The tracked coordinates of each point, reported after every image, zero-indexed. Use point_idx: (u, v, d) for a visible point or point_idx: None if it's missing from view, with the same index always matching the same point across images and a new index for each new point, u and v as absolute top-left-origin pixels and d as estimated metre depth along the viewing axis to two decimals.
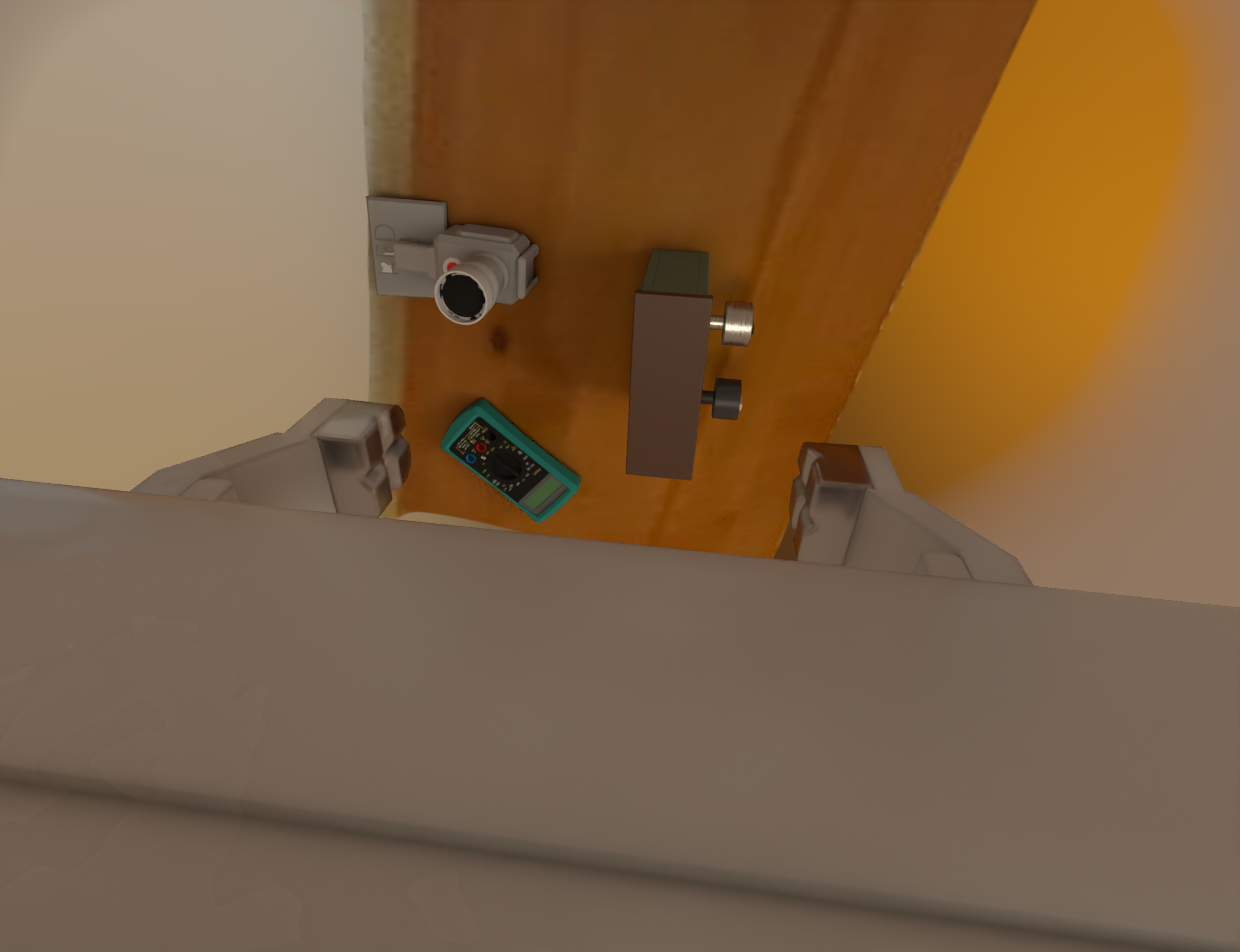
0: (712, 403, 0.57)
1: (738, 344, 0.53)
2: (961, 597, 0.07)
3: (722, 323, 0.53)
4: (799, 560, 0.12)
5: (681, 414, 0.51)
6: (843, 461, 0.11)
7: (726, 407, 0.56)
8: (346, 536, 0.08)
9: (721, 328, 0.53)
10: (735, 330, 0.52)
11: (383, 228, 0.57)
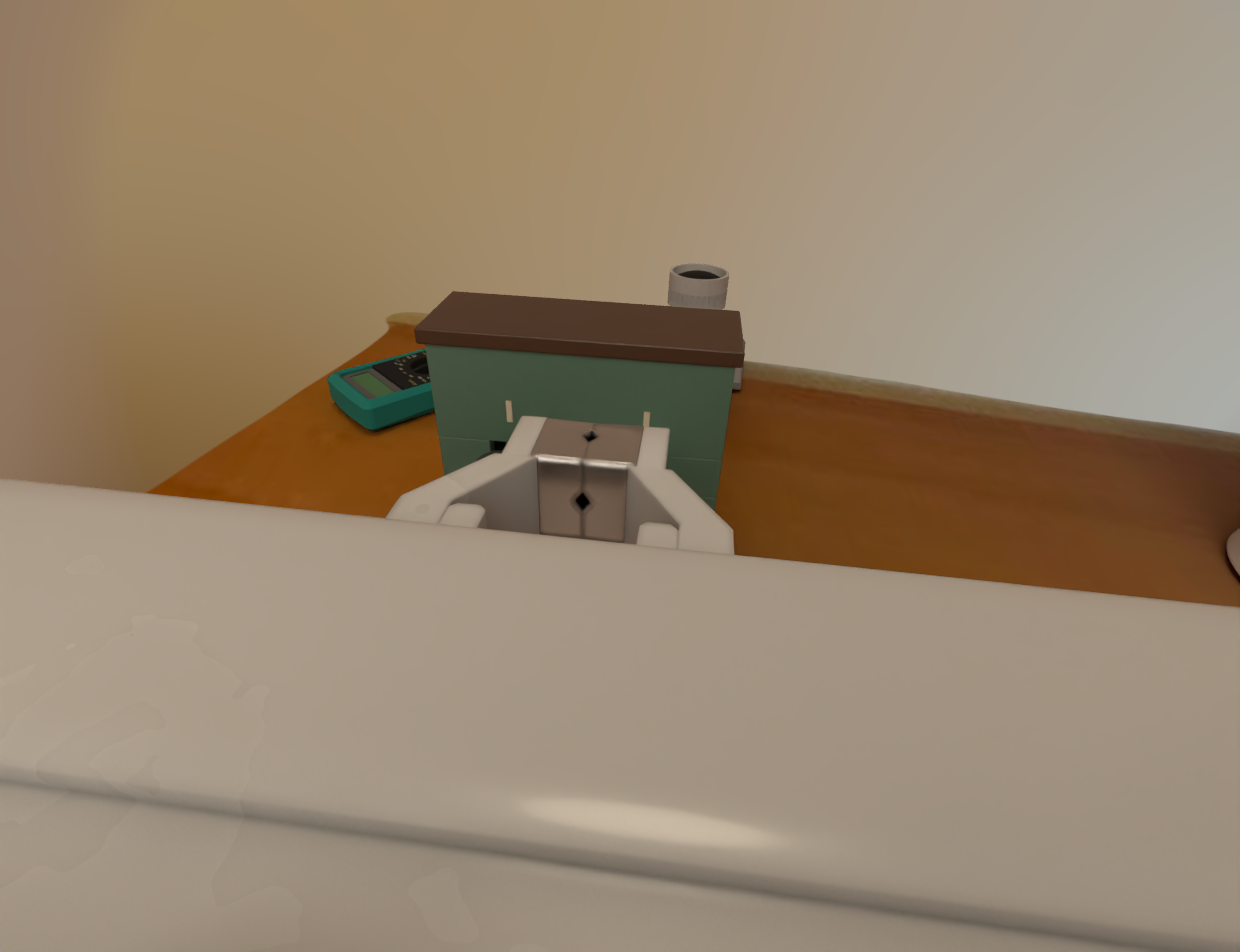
0: None
1: None
2: (961, 597, 0.07)
3: None
4: (585, 538, 0.12)
5: (547, 326, 0.31)
6: (620, 441, 0.12)
7: None
8: (346, 537, 0.08)
9: None
10: None
11: None
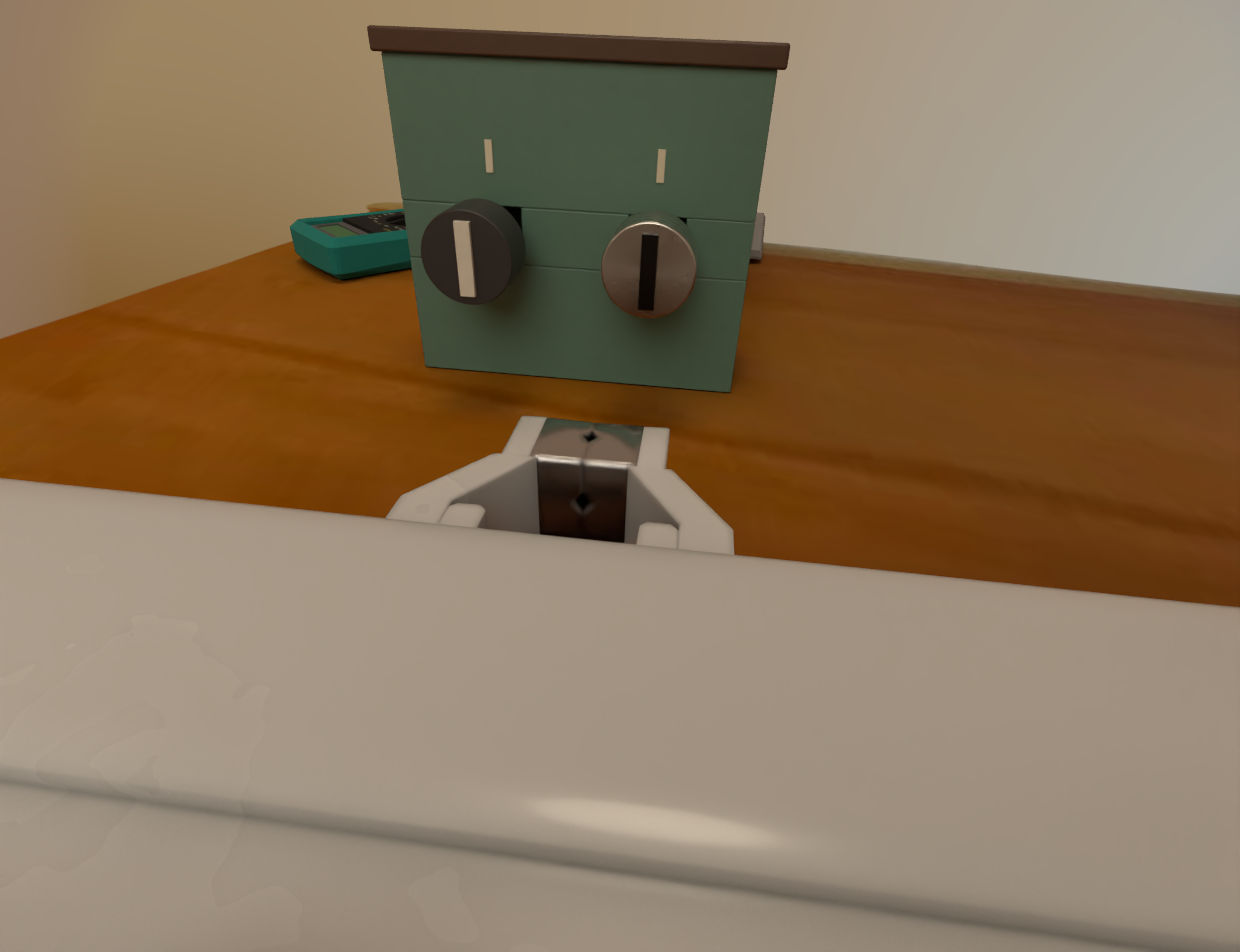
0: None
1: (617, 231, 0.24)
2: (961, 597, 0.07)
3: None
4: (585, 538, 0.12)
5: None
6: (620, 441, 0.12)
7: (473, 203, 0.24)
8: (346, 536, 0.08)
9: None
10: (655, 214, 0.24)
11: None
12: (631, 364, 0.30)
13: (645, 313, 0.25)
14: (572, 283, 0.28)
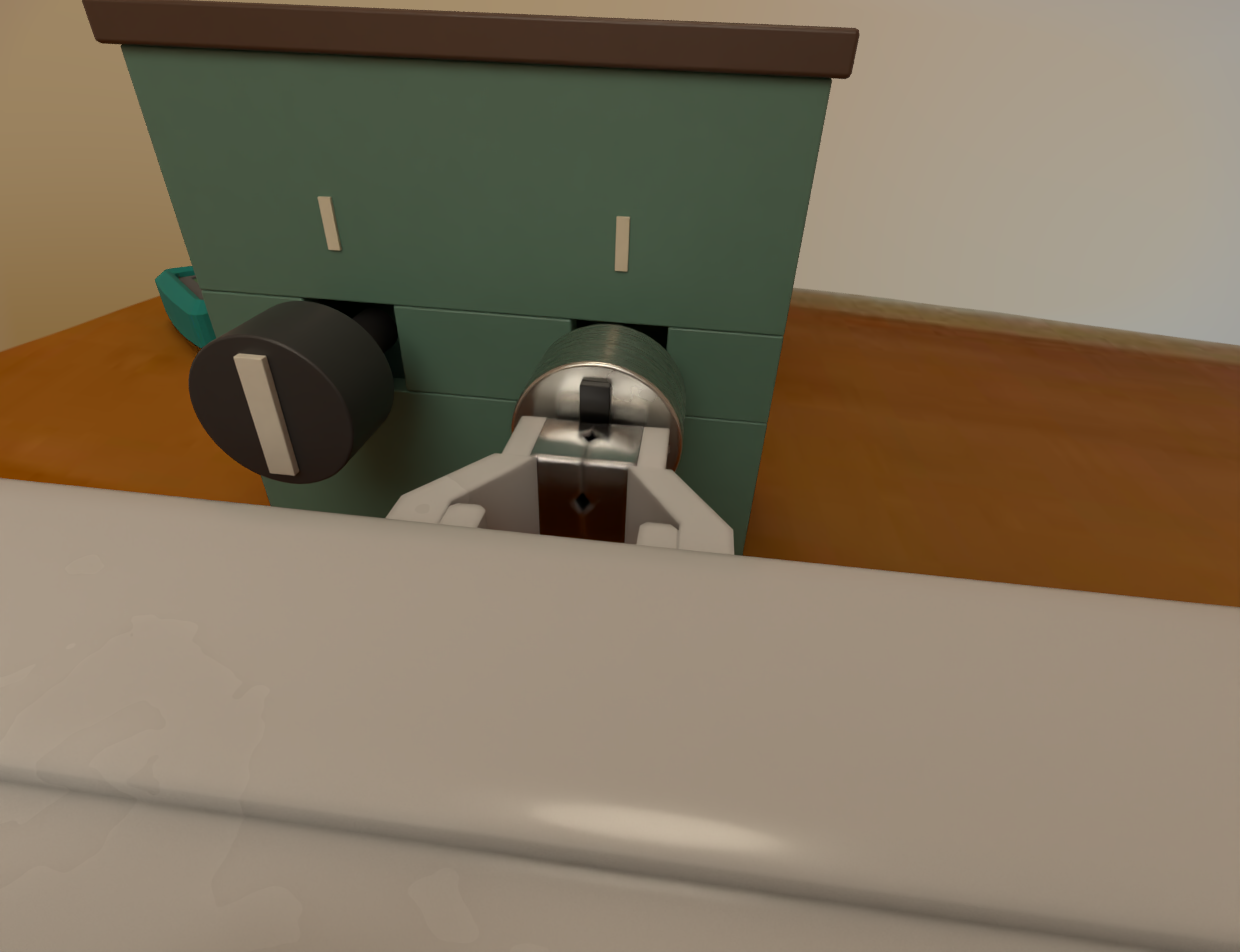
0: None
1: (539, 367, 0.13)
2: (961, 597, 0.07)
3: None
4: (585, 538, 0.12)
5: None
6: (620, 441, 0.12)
7: (283, 316, 0.14)
8: (346, 536, 0.08)
9: None
10: (609, 338, 0.13)
11: None
12: None
13: None
14: (485, 419, 0.18)
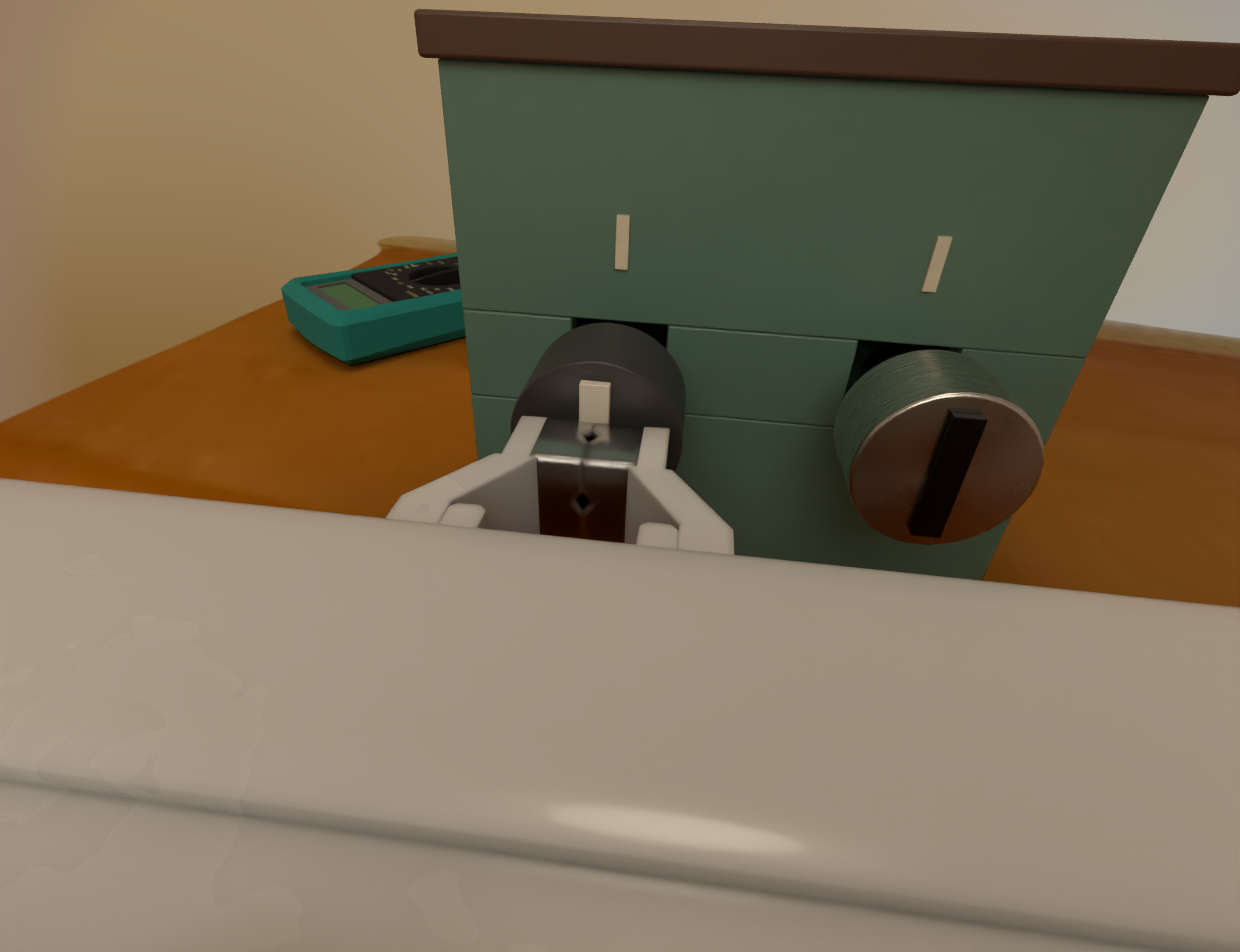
0: None
1: (882, 396, 0.13)
2: (961, 597, 0.07)
3: None
4: (585, 538, 0.12)
5: None
6: (620, 441, 0.12)
7: (609, 340, 0.13)
8: (346, 537, 0.08)
9: None
10: (957, 366, 0.13)
11: None
12: (818, 555, 0.19)
13: (919, 537, 0.14)
14: (739, 441, 0.17)
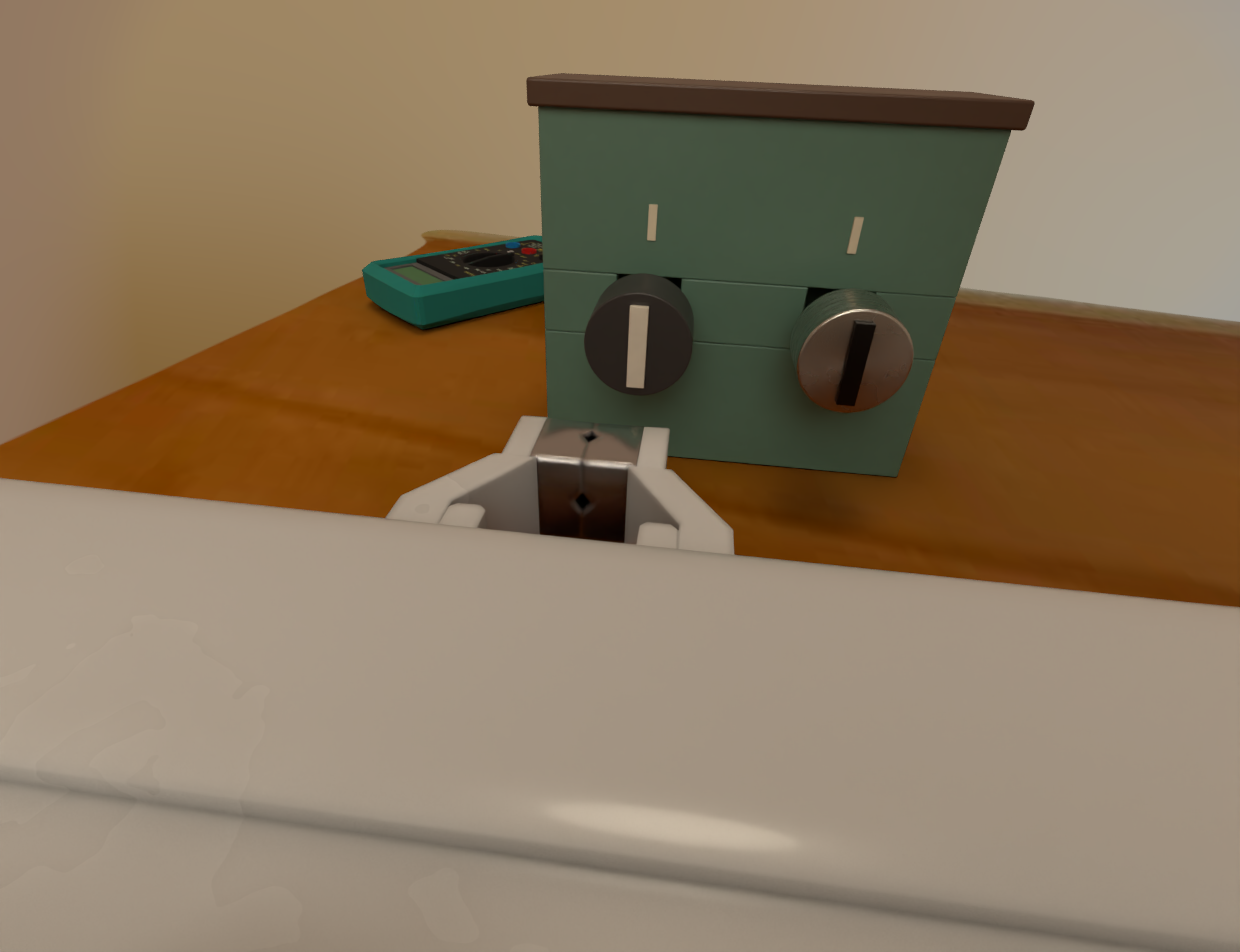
0: None
1: (816, 315, 0.21)
2: (961, 597, 0.07)
3: None
4: (585, 538, 0.12)
5: (720, 84, 0.21)
6: (620, 441, 0.12)
7: (646, 282, 0.21)
8: (346, 537, 0.08)
9: None
10: (862, 296, 0.21)
11: None
12: (787, 446, 0.27)
13: (842, 407, 0.21)
14: (730, 360, 0.25)
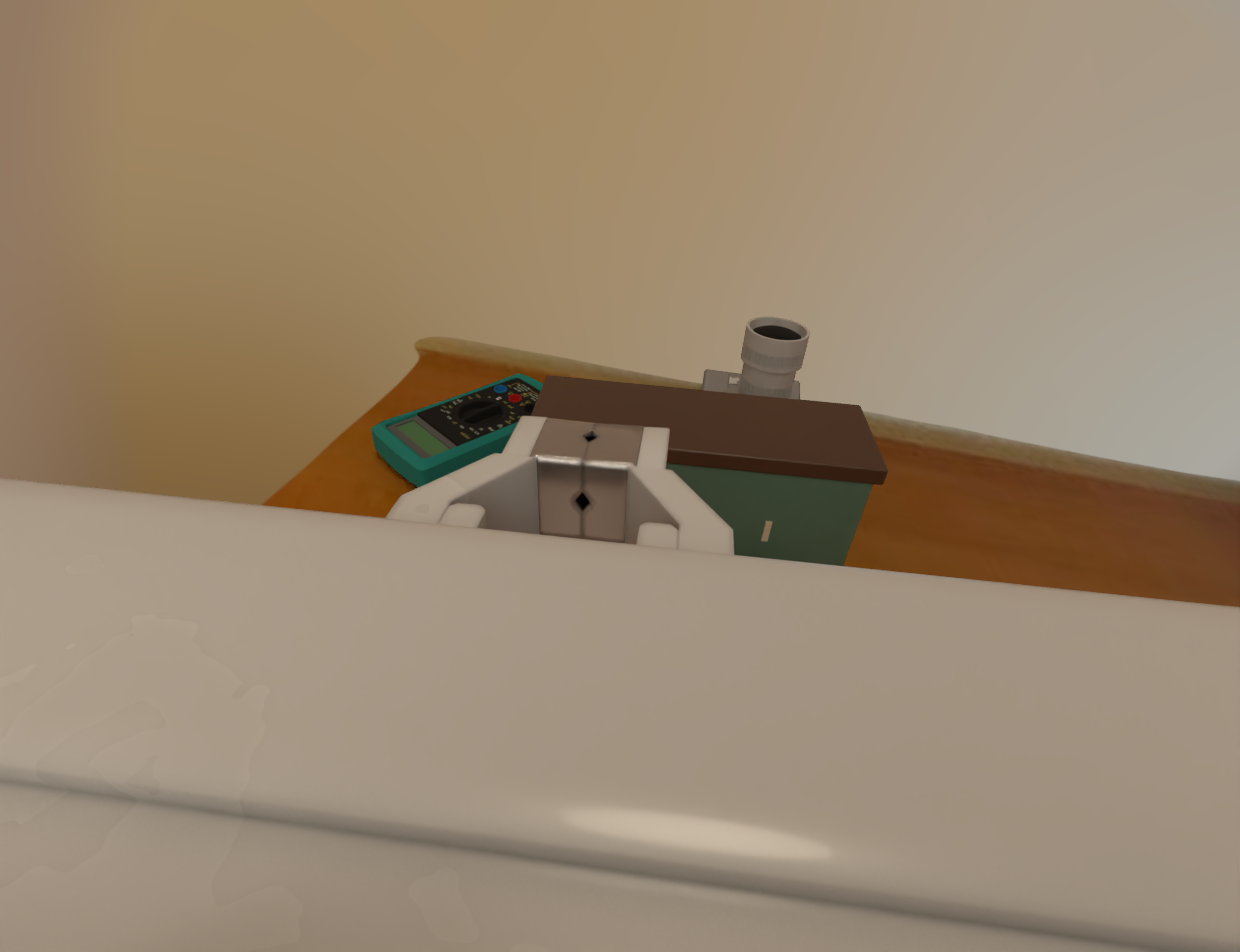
0: None
1: None
2: (961, 597, 0.07)
3: None
4: (585, 538, 0.12)
5: None
6: (620, 441, 0.12)
7: None
8: (346, 536, 0.08)
9: None
10: None
11: None
12: None
13: None
14: None
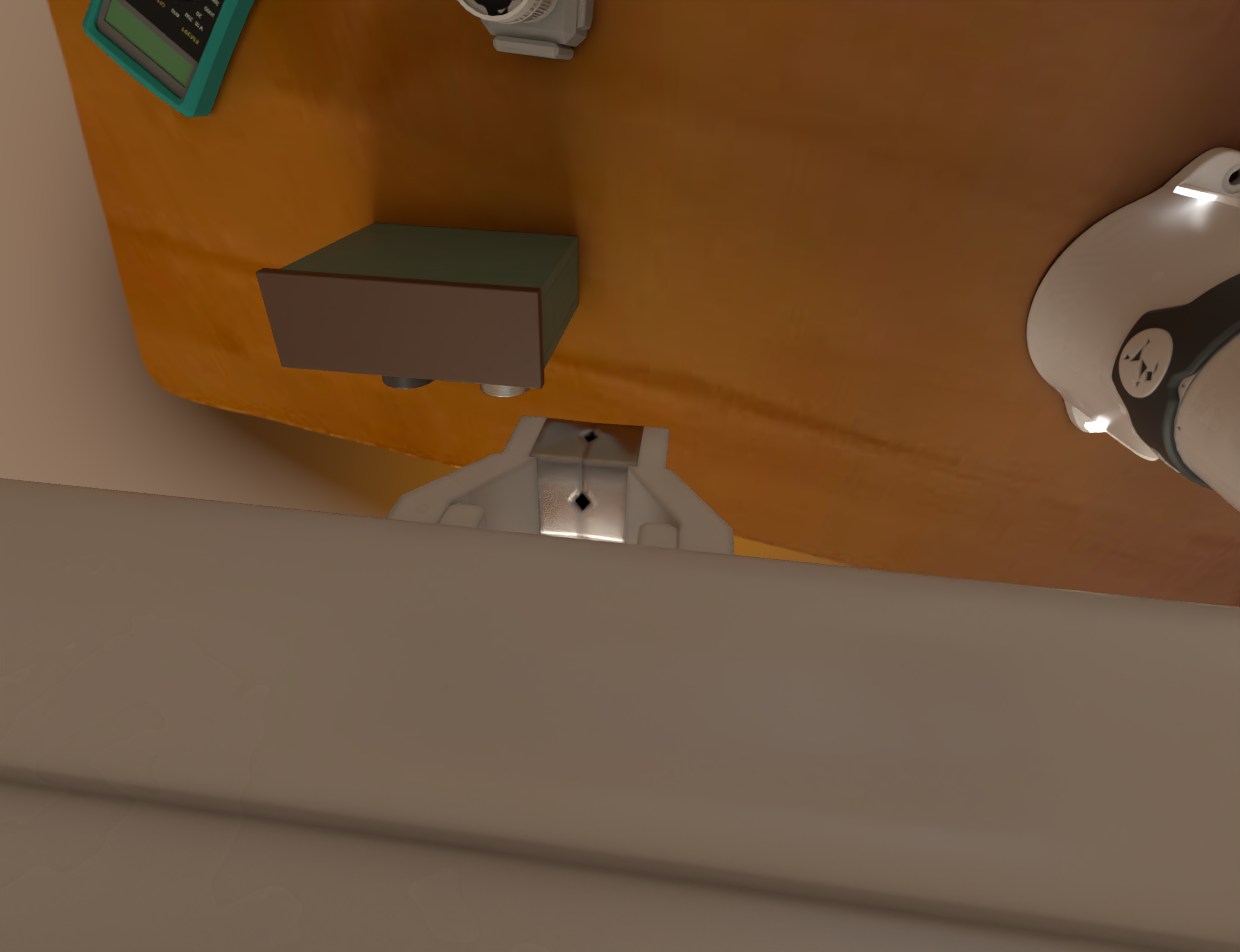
0: None
1: None
2: (961, 597, 0.07)
3: None
4: (585, 538, 0.12)
5: (378, 353, 0.36)
6: (620, 441, 0.12)
7: None
8: (347, 536, 0.08)
9: None
10: None
11: None
12: None
13: None
14: None
